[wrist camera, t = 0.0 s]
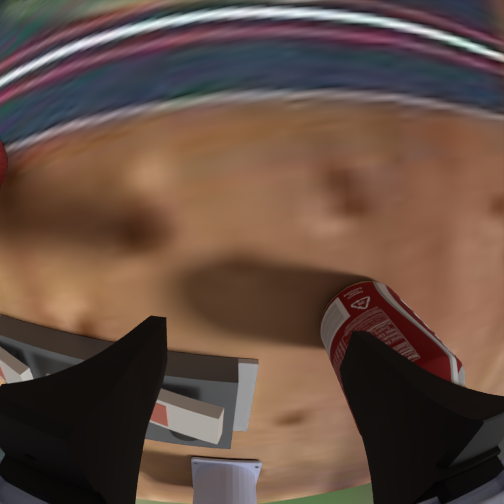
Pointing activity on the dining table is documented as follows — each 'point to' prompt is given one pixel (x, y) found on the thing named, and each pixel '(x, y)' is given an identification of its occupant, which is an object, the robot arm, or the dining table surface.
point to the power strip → (175, 380)
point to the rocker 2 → (188, 416)
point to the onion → (2, 163)
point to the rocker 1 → (13, 368)
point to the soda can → (384, 330)
